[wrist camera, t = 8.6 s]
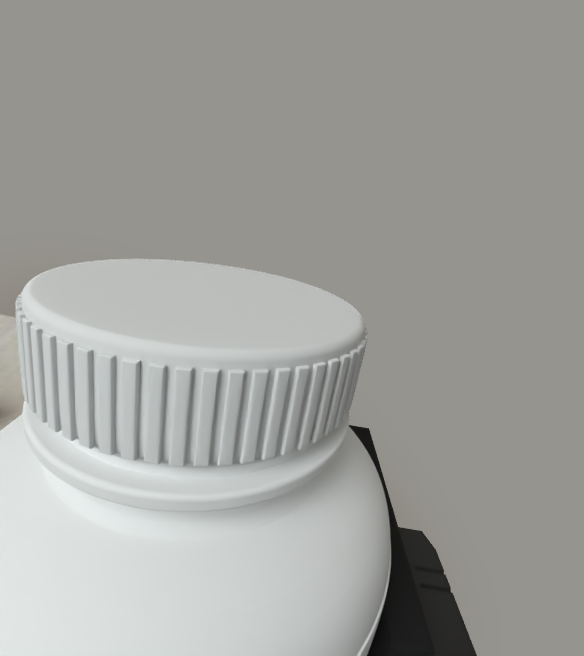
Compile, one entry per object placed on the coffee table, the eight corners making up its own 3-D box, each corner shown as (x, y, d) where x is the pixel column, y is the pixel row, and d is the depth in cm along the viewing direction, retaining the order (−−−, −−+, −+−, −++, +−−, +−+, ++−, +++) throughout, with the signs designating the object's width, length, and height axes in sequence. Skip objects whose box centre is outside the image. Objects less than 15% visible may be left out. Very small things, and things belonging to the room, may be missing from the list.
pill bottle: (56, 644, 13) (35, 226, 8) (268, 609, 15) (346, 270, 11) (-109, 1194, 6) (-942, 464, 1) (334, 973, 8) (656, 435, 4)
